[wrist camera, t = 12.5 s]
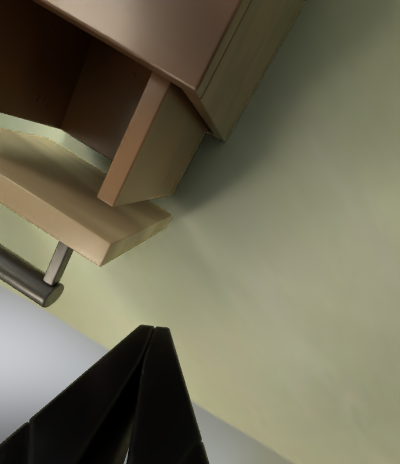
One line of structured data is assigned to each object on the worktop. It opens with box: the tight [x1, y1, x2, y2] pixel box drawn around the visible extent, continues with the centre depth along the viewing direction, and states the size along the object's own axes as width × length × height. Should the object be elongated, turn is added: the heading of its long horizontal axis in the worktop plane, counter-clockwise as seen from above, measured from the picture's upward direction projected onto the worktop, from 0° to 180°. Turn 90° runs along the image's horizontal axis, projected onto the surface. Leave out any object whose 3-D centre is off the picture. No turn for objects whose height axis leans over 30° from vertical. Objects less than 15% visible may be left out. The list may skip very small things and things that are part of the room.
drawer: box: [0, 0, 209, 307], centre depth 14 cm, size 18×11×9 cm, turn 150°
